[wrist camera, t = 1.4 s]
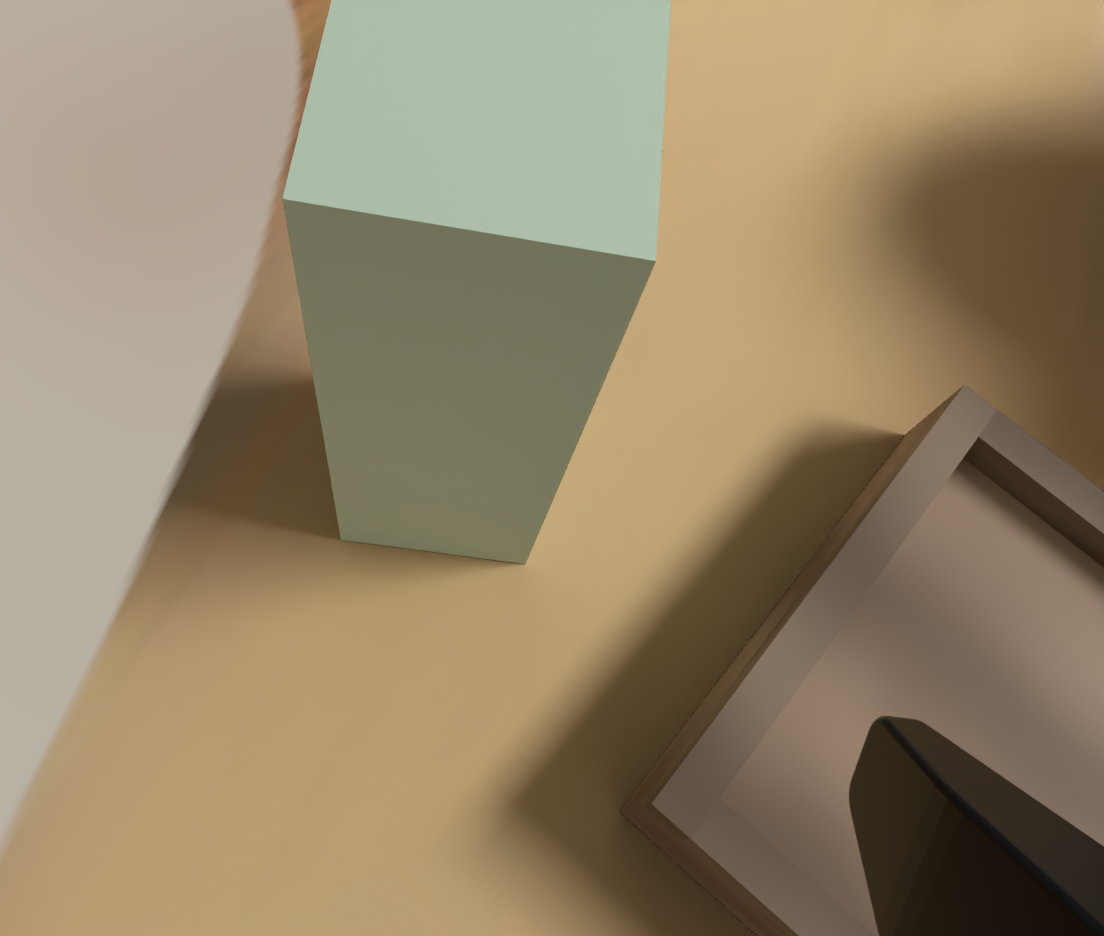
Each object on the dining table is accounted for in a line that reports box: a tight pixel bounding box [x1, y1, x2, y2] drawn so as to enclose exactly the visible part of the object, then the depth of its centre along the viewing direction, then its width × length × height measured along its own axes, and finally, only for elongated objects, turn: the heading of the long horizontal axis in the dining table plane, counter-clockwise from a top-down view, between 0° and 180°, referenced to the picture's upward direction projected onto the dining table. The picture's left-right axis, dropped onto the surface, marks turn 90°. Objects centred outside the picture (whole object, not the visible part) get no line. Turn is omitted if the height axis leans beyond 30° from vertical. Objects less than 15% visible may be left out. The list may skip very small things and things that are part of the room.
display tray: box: [619, 385, 1104, 936], centre depth 22 cm, size 13×13×3 cm
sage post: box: [283, 0, 671, 564], centre depth 18 cm, size 4×4×13 cm
